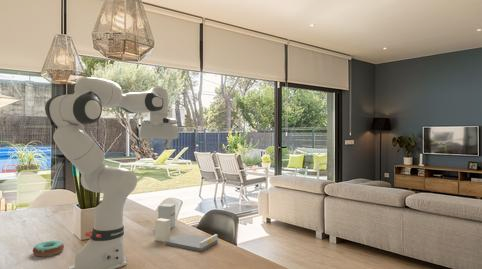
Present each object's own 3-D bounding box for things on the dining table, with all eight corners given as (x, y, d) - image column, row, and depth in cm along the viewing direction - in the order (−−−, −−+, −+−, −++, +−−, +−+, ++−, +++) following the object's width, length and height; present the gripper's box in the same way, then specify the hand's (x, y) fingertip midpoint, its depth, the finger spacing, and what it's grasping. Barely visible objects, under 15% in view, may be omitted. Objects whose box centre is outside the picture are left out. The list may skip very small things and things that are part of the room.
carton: (155, 240, 167) (155, 219, 166) (160, 237, 170) (161, 218, 170) (165, 242, 164) (165, 221, 164) (170, 239, 168) (170, 219, 168)
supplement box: (170, 229, 184) (170, 206, 184) (157, 228, 186) (157, 205, 185) (175, 226, 191) (175, 203, 191) (163, 225, 193) (163, 203, 193)
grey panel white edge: (202, 251, 151) (202, 242, 151) (165, 244, 160) (166, 236, 160) (217, 242, 163) (217, 234, 163) (183, 236, 172) (183, 228, 172)
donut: (57, 246, 157) (57, 237, 157) (68, 252, 149) (68, 243, 149) (28, 253, 148) (28, 244, 148) (39, 260, 140) (39, 250, 140)
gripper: (137, 119, 167) (137, 147, 167) (173, 119, 160) (173, 148, 160) (145, 120, 173) (145, 147, 173) (180, 120, 166) (180, 148, 166)
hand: (159, 148), depth 166 cm, fingers open, 8 cm apart
